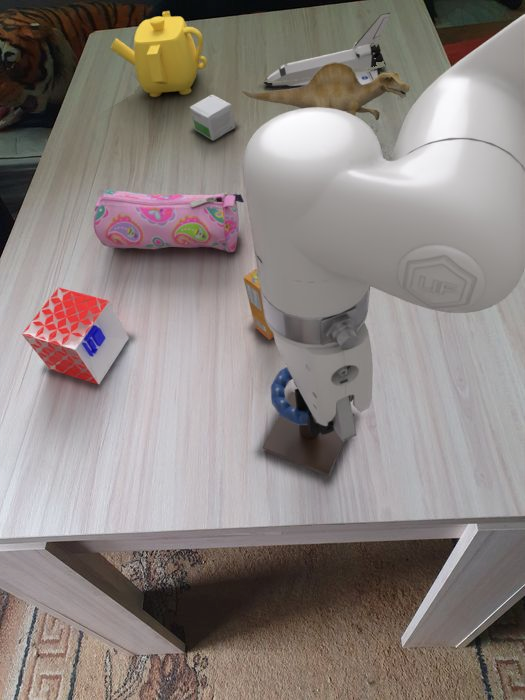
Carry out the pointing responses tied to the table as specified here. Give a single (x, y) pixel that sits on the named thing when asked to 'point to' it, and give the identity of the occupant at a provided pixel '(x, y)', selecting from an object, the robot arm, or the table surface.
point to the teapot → (164, 54)
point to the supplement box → (257, 304)
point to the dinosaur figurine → (336, 90)
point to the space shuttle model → (337, 60)
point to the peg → (303, 444)
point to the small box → (212, 117)
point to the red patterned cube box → (77, 335)
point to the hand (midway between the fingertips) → (318, 416)
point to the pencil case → (167, 220)
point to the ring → (282, 403)
